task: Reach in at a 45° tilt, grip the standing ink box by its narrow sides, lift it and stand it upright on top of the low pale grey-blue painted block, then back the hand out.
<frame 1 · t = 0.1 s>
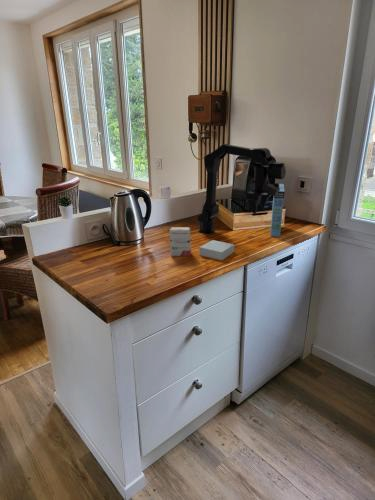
hand: (258, 211, 157), 15 cm above the worktop, tool pointing down, fingers open, 9 cm apart
base block: (216, 254, 148), on the worktop
ink box: (180, 254, 148), on the worktop
gum box: (275, 231, 177), on the worktop
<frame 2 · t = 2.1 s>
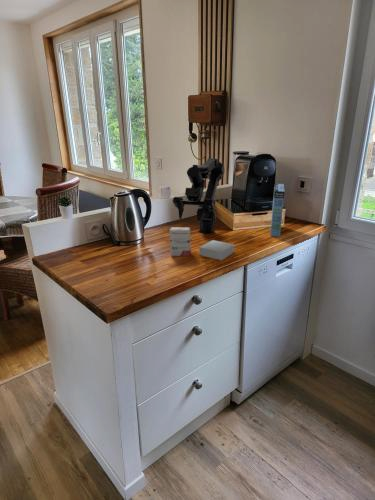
hand: (189, 219, 150), 13 cm above the worktop, tool tilted 45°, fingers open, 9 cm apart
nothing on the worktop moved.
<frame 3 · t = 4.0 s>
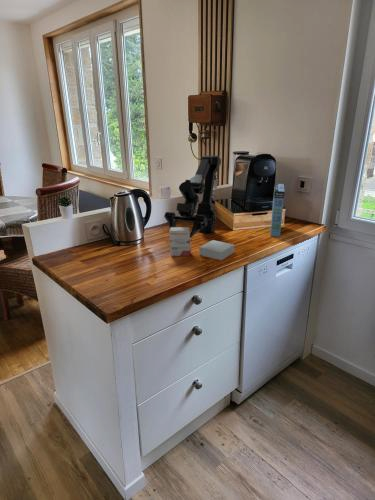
hand: (180, 236, 146), 8 cm above the worktop, tool tilted 45°, fingers open, 9 cm apart
ink box: (180, 254, 148), on the worktop, touching gripper
everything else where it was.
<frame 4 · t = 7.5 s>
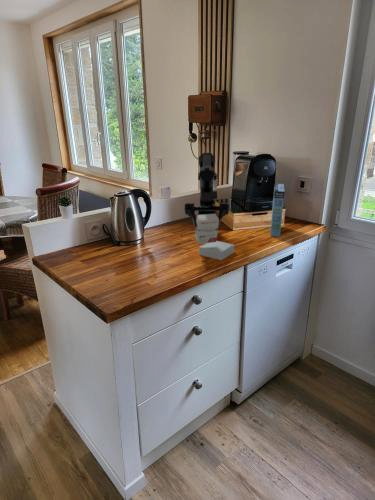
hand: (206, 226, 142), 13 cm above the worktop, tool tilted 45°, fingers closed on ink box, 9 cm apart
ink box: (205, 240, 146), point 6 cm above the worktop, touching gripper
everything else where it was.
when the fingers open (12 cm above the worktop, at t = 10.5 s): ink box drops 2 cm, point 4 cm above the worktop.
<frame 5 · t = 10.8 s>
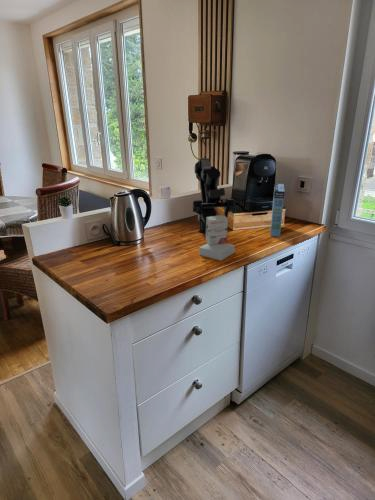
hand: (215, 222, 148), 13 cm above the worktop, tool tilted 45°, fingers open, 9 cm apart
ink box: (215, 241, 152), point 4 cm above the worktop, touching gripper
everything else where it was.
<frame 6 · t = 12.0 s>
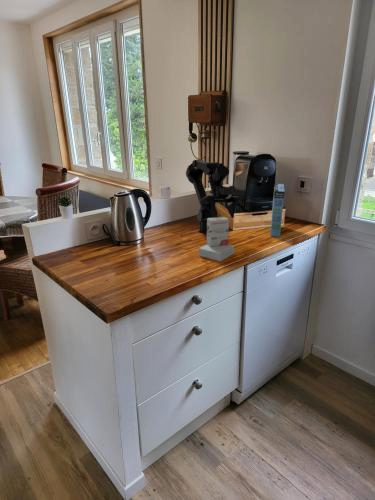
hand: (224, 218, 154), 13 cm above the worktop, tool tilted 35°, fingers open, 9 cm apart
base block: (216, 255, 147), on the worktop, touching ink box
ink box: (217, 244, 149), point 3 cm above the worktop, touching base block
everything else where it was.
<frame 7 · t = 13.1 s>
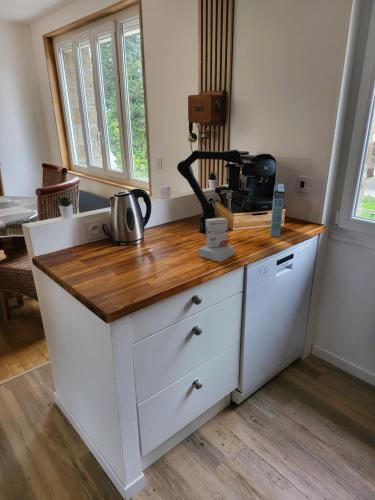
hand: (233, 207, 171), 13 cm above the worktop, tool pointing down, fingers open, 9 cm apart
ink box: (216, 245, 148), point 3 cm above the worktop, touching base block
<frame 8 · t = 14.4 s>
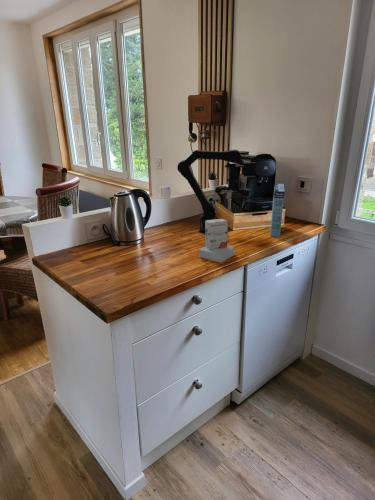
hand: (233, 207, 171), 13 cm above the worktop, tool pointing down, fingers open, 9 cm apart
base block: (216, 256, 146), on the worktop
ink box: (216, 247, 146), point 3 cm above the worktop
everything else where it was.
at the end: ink box inside the target area on the base block (1.8 cm from its centre), point 3.9 cm above the base block's base; ink box tilted 2°; the gripper is holding nothing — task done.
